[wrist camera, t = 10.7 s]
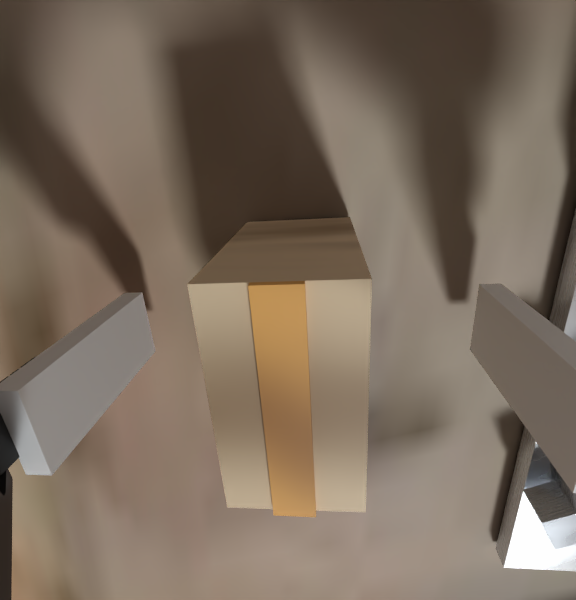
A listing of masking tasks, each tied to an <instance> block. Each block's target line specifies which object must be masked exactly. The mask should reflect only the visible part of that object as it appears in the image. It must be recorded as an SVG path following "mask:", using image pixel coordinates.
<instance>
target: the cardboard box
mask: <svg viewBox="0 0 576 600" xmlns="http://www.w3.org/2000/svg"><path fill="white" fill-rule="evenodd" d="M187 285H188V291H189V296H190V302H191V308H192V313H193V319H194V324H195V330H196V335H197V341H198V347H199V352H200V358H201V363H202V369H203V374H204V380H205V386H206V391H207V397H208V402H209V408H210V413H211V419H212V425H213V430H214V436H215V441H216V447H217V452H218V458H219V464H220V469H221V475H222V480H223V486H224V491H225V497H226V503H227V507H230V508H258V509H273V514H274V516H300V517H316V511H341V512H366V482H367V444H368V405H369V367H370V329H371V291H372V278H371V275H370V272H369V270H368V267H367V264H366V261H365V258H364V256H363V253H362V250H361V247H360V244H359V242H358V239H357V236H356V233H355V230H354V228H353V225H352V222H351V219H350V217H343V218H322V219H301V220H279V221H258V222H247V223H246V224H245V225H244V226H243V227H242V228H241V229H240V230H239V231H238V232H237V233H236V234H235V235H234V236H233V237H232V238H231V239H230V240H229V241H228V243H227V244H226V245H225V246H224V247H223V248H222V249H221V250H220V251H219V252H218V253H217V254H216V255H215V256H214V257H213V258H212V259H211V260H210V261H209V262H208V263H207V264H206V265H205V266H204V267H203V268H202V270H201V271H200V272H199V273H198V274H197V275H196V276H195V277H194V278H193V279H192V280H191V281H190V282H189V283H188V284H187Z"/></svg>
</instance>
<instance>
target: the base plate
mask: <svg viewBox="0 0 576 600" xmlns="http://www.w3.org/2000/svg"><path fill="white" fill-rule="evenodd" d="M549 321H550V322H551V323H552V324H554V325H555V326H556V327H558V328H559V329H560V330H561V331H563V332H564V333H565V334H567V335H568V336H569V337H570V338H572V339H573V340H574V341H576V209H575V213H574V217H573V221H572V226H571V230H570V234H569V238H568V243H567V247H566V251H565V255H564V260H563V264H562V268H561V272H560V277H559V281H558V285H557V290H556V294H555V298H554V302H553V307H552V311H551V315H550V319H549ZM550 481H553V479H552V476H551V469H550V460H549V459H548V458H547V456H546V455H545V453H544V452H543V451H542V449H541V448H540V446H539V445H538V444H537V442H536V441H535V439H534V438H533V437H532V435H531V434H530V433H529V431H528V430H527V428H526V427H525V426H524V430H523V434H522V439H521V443H520V447H519V451H518V456H517V460H516V464H515V468H514V473H513V477H512V481H511V485H510V490H509V494H508V498H507V502H506V507H505V511H504V515H503V519H502V524H501V528H500V532H499V536H498V541H497V545H496V550H497V553H498V555H499V557H500V560H501V562H502V564H503V567H504V568H523V569H543V570H563V571H576V544H575V545H571V546H567V547H563V548H559V549H555V548H554V546H553V544H552V543H551V541H550V539H549V537H548V536H547V534H546V532H545V530H544V529H543V527H542V525H541V523H540V522H539V520H538V518H537V516H536V515H535V513H534V511H533V509H532V507H531V505H530V503H529V501H528V499H527V497H526V495H525V493H524V491H523V490H524V489H527V488H531V487H534V486H537V485H540V484H544V483H547V482H550Z"/></svg>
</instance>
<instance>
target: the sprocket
mask: <svg viewBox="0 0 576 600" xmlns="http://www.w3.org/2000/svg"><path fill="white" fill-rule="evenodd" d="M550 469H551V476H552V479H553V481H550V482H547V483H544V484H540V485H537V486H534V487H531V488H527V489H524V490H523V491H524V493H525V495H526V497H527V499H528V501H529V503H530V505H531V507H532V509H533V511H534V513H535V515H536V516H537V518H538V520H539V522H540V523H541V525H542V527H543V529H544V530H545V532H546V534H547V536H548V537H549V539H550V541H551V543H552V544H553V546H554V548H555V549H559V548H563V547H567V546H571V545H575V544H576V493H572V491H571V490H570V488H569V487H568V486H567V484H566V483H565V481H564V480H563V479H562V477H561V476H560V474H559V473H558V472H557V470H556V469H555V467H554V466H553V465H552V463H551V462H550Z"/></svg>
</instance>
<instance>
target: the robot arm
mask: <svg viewBox="0 0 576 600" xmlns="http://www.w3.org/2000/svg"><path fill="white" fill-rule="evenodd" d="M470 350H471V351H472V353H473V354H474V356H475V357H476V358H477V360H478V361H479V363H480V364H481V365H482V367H483V368H484V370H485V371H486V372H487V374H488V375H489V377H490V378H491V379H492V381H493V382H494V384H495V385H496V386H497V388H498V389H499V391H500V392H501V393H502V395H503V396H504V398H505V399H506V400H507V402H508V403H509V405H510V406H511V407H512V409H513V410H514V412H515V413H516V414H517V416H518V417H519V419H520V420H521V421H522V423H523V424H524V426H525V427H526V428H527V430H528V431H529V433H530V434H531V435H532V437H533V438H534V439H535V441H536V442H537V444H538V445H539V446H540V448H541V449H542V451H543V452H544V453H545V455H546V456H547V458H548V459H549V460H550V462H551V463H552V465H553V466H554V467H555V469H556V470H557V472H558V473H559V474H560V476H561V477H562V479H563V480H564V481H565V483H566V484H567V486H568V487H569V488H570V490H571V491H572V493H576V341H574V340H573V339H572V338H570V337H569V336H568V335H567V334H565V333H564V332H563V331H561V330H560V329H559V328H558V327H556V326H555V325H554V324H552V323H551V322H550V321H549V320H547V319H546V318H545V317H543V316H542V315H541V314H540V313H538V312H537V311H536V310H534V309H533V308H532V307H531V306H529V305H528V304H527V303H525V302H524V301H523V300H521V299H520V298H519V297H518V296H516V295H515V294H514V293H512V292H511V291H510V290H509V289H507V288H506V287H505V286H503V285H502V284H479V290H478V297H477V304H476V311H475V318H474V325H473V332H472V339H471V346H470ZM154 352H155V347H154V342H153V338H152V333H151V329H150V325H149V320H148V316H147V311H146V307H145V302H144V298H143V293H142V292H140V293H124V294H122V295H121V296H120V297H118V298H117V299H115V300H114V301H113V302H111V303H110V304H109V305H107V306H106V307H104V308H103V309H102V310H100V311H99V312H97V313H96V314H95V315H93V316H92V317H91V318H89V319H88V320H86V321H85V322H84V323H82V324H81V325H79V326H78V327H77V328H75V329H74V330H73V331H71V332H70V333H68V334H67V335H66V336H64V337H63V338H62V339H60V340H59V341H57V342H56V343H55V344H53V345H52V346H50V347H49V348H48V349H46V350H45V351H44V352H42V353H41V354H39V355H38V356H36V357H34V358H33V359H31V360H30V361H28V362H27V363H26V364H24V365H23V366H21V368H20V369H17V370H16V371H14V372H13V373H12V374H10V376H9V377H6V378H5V379H3V380H2V381H1V382H0V600H11V574H12V477H11V474H10V472H9V470H8V468H9V467H10V466H11V465H12V464H13V463H14V462H15V461H16V460H17V459H18V458H19V460H20V462H21V464H22V466H23V469H24V471H25V473H26V475H53V473H54V472H55V471H56V470H57V469H58V467H59V466H60V465H61V464H62V463H63V461H64V460H65V459H66V458H67V457H68V455H69V454H70V453H71V452H72V451H73V449H74V448H75V447H76V446H77V445H78V443H79V442H80V441H81V440H82V439H83V437H84V436H85V435H86V434H87V433H88V431H89V430H90V429H91V428H92V427H93V425H94V424H95V423H96V422H97V421H98V419H99V418H100V417H101V416H102V415H103V414H104V412H105V411H106V410H107V409H108V408H109V406H110V405H111V404H112V403H113V402H114V400H115V399H116V398H117V397H118V396H119V394H120V393H121V392H122V391H123V390H124V388H125V387H126V386H127V385H128V384H129V382H130V381H131V380H132V379H133V378H134V376H135V375H136V374H137V373H138V372H139V370H140V369H141V368H142V367H143V366H144V364H145V363H146V362H147V361H148V360H149V358H150V357H151V356H152V355H153V354H154Z"/></svg>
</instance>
